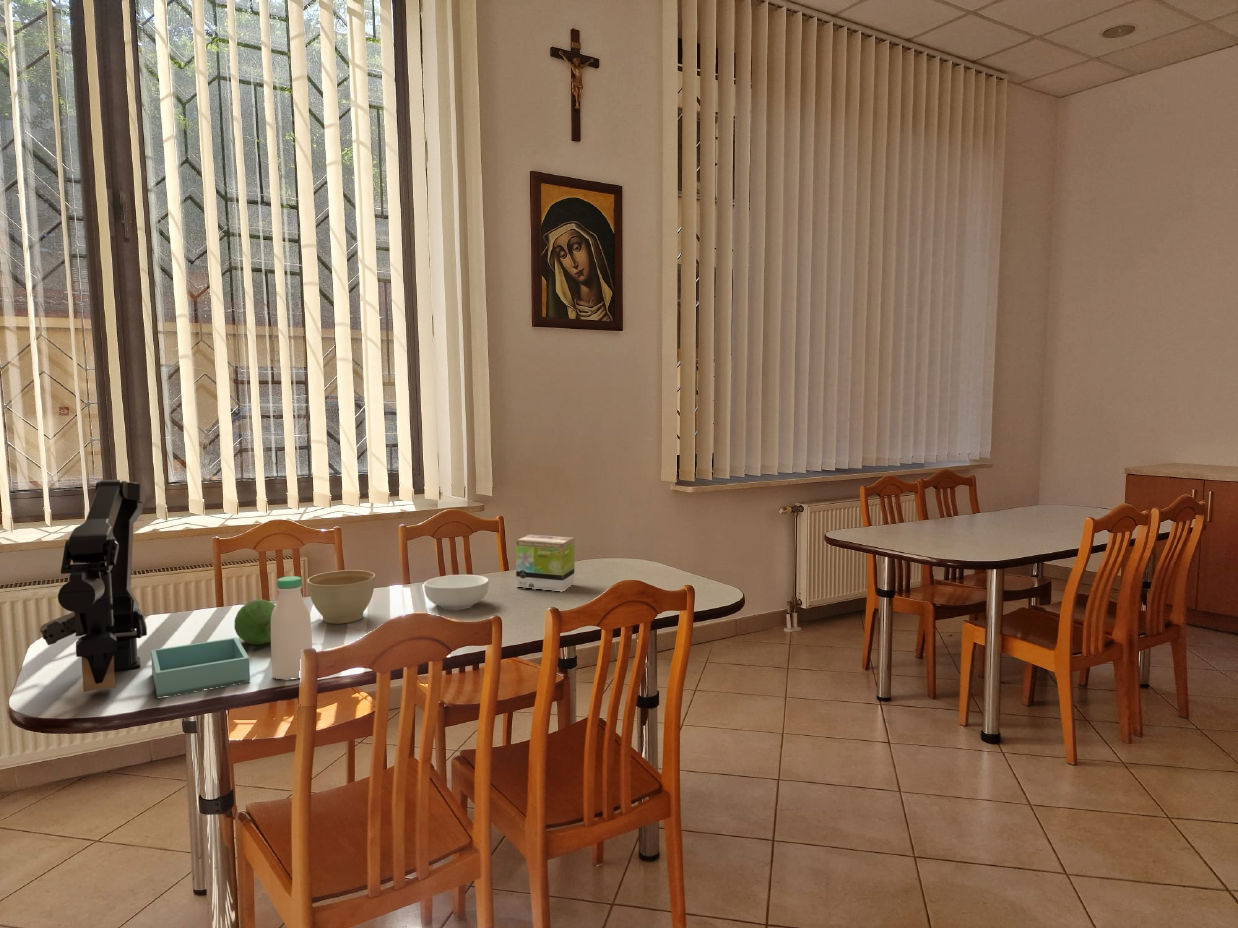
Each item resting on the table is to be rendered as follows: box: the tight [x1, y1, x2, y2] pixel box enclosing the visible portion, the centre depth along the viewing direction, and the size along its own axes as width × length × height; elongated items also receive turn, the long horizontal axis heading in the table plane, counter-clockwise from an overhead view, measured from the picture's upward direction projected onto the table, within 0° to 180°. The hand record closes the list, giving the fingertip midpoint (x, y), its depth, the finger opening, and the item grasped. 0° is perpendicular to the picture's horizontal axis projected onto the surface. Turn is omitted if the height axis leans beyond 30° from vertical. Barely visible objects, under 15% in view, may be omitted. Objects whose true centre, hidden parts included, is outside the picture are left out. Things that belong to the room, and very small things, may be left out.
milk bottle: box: [270, 575, 313, 680], centre depth 163 cm, size 8×8×20 cm
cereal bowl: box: [423, 574, 490, 611], centre depth 217 cm, size 17×17×7 cm
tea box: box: [515, 533, 575, 590], centre depth 237 cm, size 15×10×15 cm
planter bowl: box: [307, 569, 376, 625], centre depth 204 cm, size 16×16×11 cm
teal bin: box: [150, 636, 251, 698], centre depth 162 cm, size 16×16×5 cm
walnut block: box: [81, 657, 116, 693], centre depth 153 cm, size 5×5×6 cm
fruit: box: [233, 599, 276, 646], centre depth 183 cm, size 15×10×10 cm, turn 35°
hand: (98, 678), depth 153 cm, fingers closed on walnut block, 5 cm apart
